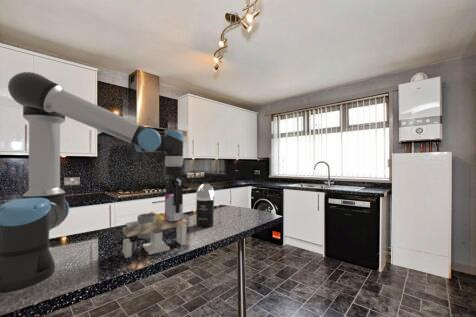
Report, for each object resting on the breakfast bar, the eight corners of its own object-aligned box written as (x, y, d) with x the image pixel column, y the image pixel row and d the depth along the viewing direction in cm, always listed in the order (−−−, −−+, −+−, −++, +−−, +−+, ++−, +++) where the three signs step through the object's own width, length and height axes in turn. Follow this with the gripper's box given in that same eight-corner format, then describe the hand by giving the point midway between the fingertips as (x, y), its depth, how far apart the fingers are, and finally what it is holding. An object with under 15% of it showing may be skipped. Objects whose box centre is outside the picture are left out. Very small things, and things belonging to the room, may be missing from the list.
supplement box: (183, 220, 96) (183, 194, 96) (171, 223, 92) (170, 195, 92) (176, 217, 100) (176, 192, 100) (164, 220, 96) (164, 194, 96)
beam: (126, 239, 81) (126, 227, 81) (122, 233, 88) (122, 222, 88) (187, 226, 95) (187, 216, 95) (179, 222, 102) (179, 213, 102)
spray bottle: (212, 228, 121) (213, 182, 122) (194, 228, 121) (194, 182, 122) (214, 223, 132) (215, 181, 132) (197, 223, 132) (198, 181, 132)
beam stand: (126, 259, 80) (127, 237, 81) (121, 251, 88) (122, 230, 89) (187, 245, 95) (188, 226, 95) (179, 239, 103) (179, 221, 103)
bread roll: (168, 222, 133) (169, 209, 133) (174, 226, 125) (175, 211, 125) (146, 225, 125) (146, 211, 125) (151, 229, 117) (151, 214, 118)
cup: (148, 239, 102) (149, 217, 103) (133, 238, 104) (133, 216, 104) (158, 233, 111) (159, 213, 111) (144, 232, 112) (144, 213, 113)
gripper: (191, 166, 91) (191, 222, 91) (174, 165, 107) (174, 213, 106) (173, 166, 87) (173, 225, 86) (158, 165, 102) (158, 215, 102)
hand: (173, 218), depth 96 cm, fingers closed on supplement box, 6 cm apart
